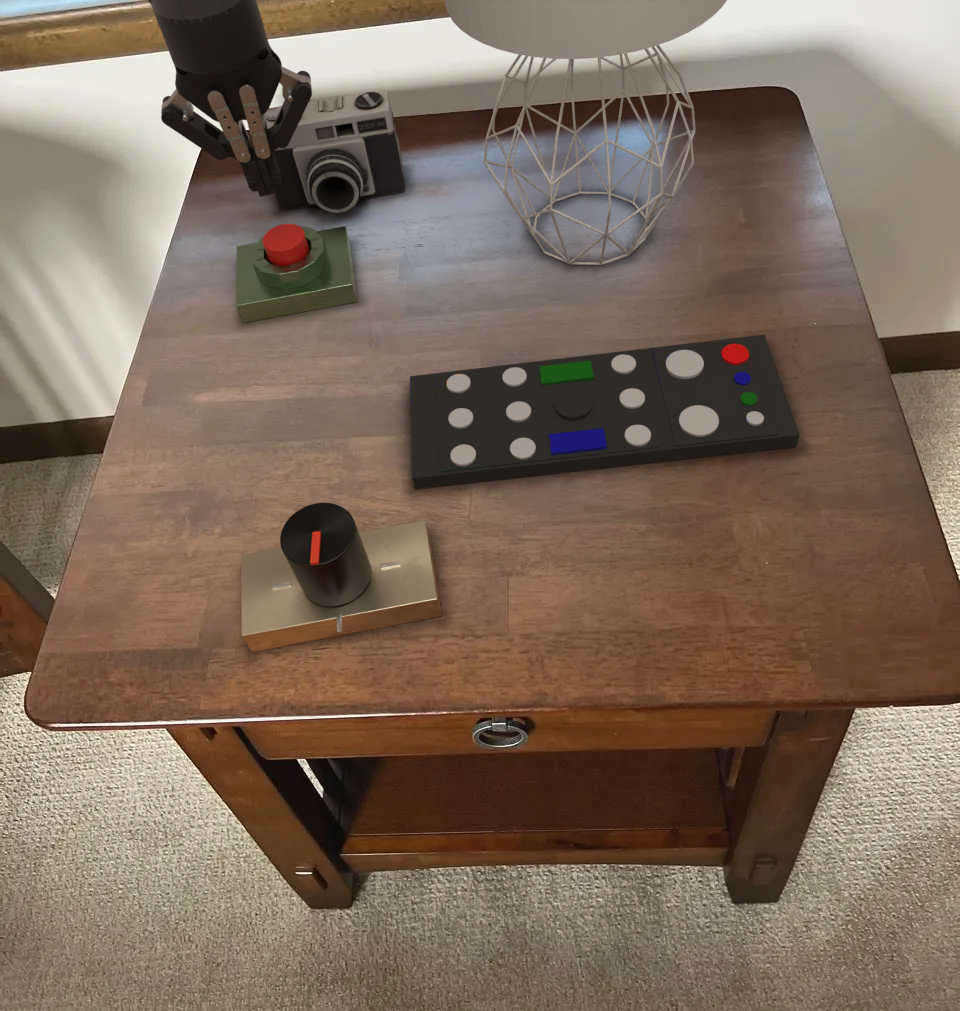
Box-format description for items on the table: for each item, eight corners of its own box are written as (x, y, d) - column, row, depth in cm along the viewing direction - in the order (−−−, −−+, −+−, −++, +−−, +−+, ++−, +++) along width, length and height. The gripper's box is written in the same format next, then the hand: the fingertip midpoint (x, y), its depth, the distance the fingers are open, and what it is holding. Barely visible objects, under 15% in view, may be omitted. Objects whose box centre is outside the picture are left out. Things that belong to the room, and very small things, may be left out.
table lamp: (457, 302, 86) (376, -218, 54) (493, 159, 99) (444, -330, 66) (702, 310, 82) (772, -245, 50) (706, 161, 95) (764, -359, 63)
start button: (268, 269, 86) (262, 254, 85) (267, 243, 88) (261, 227, 87) (310, 261, 86) (305, 246, 85) (308, 235, 88) (303, 220, 87)
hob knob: (303, 548, 68) (281, 503, 64) (372, 542, 68) (355, 496, 63) (298, 610, 65) (275, 566, 60) (370, 603, 65) (353, 559, 60)
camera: (269, 231, 95) (240, 142, 87) (283, 181, 101) (257, 93, 93) (401, 222, 94) (384, 131, 86) (408, 172, 99) (392, 82, 92)
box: (243, 323, 87) (229, 291, 84) (243, 263, 93) (230, 230, 90) (357, 302, 88) (347, 269, 84) (350, 243, 93) (341, 210, 90)
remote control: (796, 446, 72) (800, 430, 71) (415, 489, 74) (411, 474, 72) (761, 346, 79) (765, 329, 77) (412, 387, 80) (408, 371, 79)
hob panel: (252, 667, 66) (240, 650, 64) (251, 558, 71) (240, 540, 69) (444, 630, 66) (439, 612, 64) (428, 525, 71) (423, 505, 69)
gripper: (286, -49, 70) (338, 153, 84) (115, -18, 70) (195, 179, 84) (290, -4, 66) (343, 202, 80) (107, 30, 66) (193, 230, 80)
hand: (267, 190), depth 82 cm, fingers closed
